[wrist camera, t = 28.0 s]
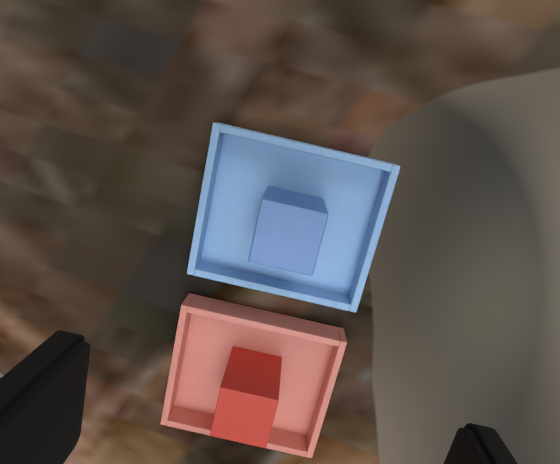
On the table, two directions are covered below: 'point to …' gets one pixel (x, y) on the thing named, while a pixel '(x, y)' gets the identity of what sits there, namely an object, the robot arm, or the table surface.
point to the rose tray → (262, 338)
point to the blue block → (289, 230)
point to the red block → (248, 397)
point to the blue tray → (299, 178)
